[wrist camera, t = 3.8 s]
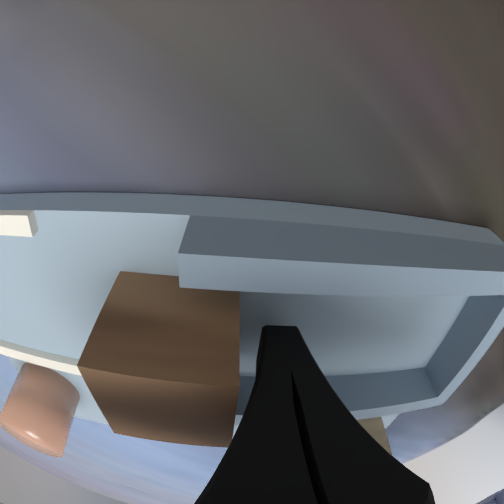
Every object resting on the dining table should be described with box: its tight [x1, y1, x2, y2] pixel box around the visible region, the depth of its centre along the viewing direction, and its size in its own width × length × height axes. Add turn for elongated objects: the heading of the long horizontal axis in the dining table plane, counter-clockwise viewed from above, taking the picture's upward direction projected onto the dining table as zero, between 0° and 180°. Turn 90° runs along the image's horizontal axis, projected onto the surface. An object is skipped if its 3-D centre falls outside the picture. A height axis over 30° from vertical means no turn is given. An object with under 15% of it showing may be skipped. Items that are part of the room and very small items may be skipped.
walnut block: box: [77, 271, 240, 447], centre depth 9 cm, size 4×4×4 cm
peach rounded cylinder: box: [0, 362, 80, 457], centre depth 12 cm, size 4×4×4 cm
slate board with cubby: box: [0, 192, 504, 439], centre depth 13 cm, size 15×24×4 cm, turn 85°
